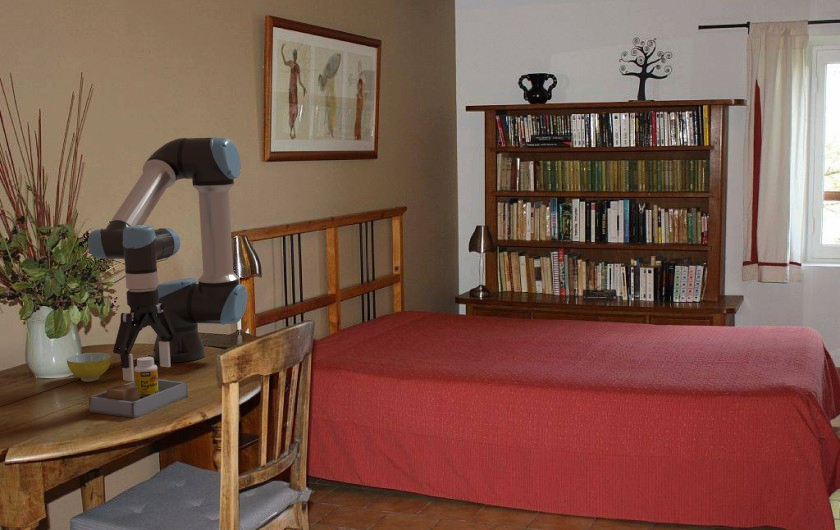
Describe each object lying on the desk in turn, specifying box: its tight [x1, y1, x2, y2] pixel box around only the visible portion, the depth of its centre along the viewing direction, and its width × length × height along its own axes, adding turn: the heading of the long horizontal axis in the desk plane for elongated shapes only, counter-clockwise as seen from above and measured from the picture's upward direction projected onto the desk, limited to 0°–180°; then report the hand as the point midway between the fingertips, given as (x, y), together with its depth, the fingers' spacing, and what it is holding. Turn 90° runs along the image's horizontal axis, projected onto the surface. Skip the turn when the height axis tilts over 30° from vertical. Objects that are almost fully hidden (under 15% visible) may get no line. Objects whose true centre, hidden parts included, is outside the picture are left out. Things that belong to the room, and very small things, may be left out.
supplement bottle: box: [133, 356, 159, 400], centre depth 226 cm, size 6×6×10 cm
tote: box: [88, 378, 189, 419], centre depth 224 cm, size 20×14×4 cm
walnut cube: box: [106, 384, 138, 402], centre depth 219 cm, size 5×5×5 cm
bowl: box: [66, 352, 112, 383], centre depth 248 cm, size 11×12×6 cm
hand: (147, 373), depth 227 cm, fingers open, 13 cm apart
